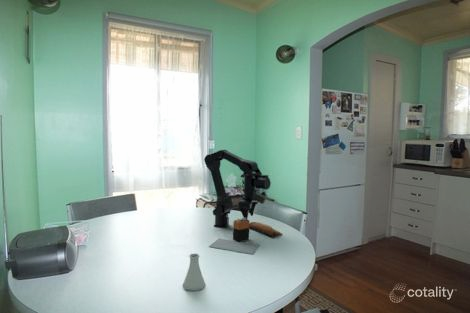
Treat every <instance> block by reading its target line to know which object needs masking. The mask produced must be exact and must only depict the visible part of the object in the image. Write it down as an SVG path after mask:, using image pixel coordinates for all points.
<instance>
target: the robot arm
mask: <svg viewBox="0 0 470 313" xmlns="http://www.w3.org/2000/svg"><path fill="white" fill-rule="evenodd" d="M223 160H225V161H227V162H229V163H231V164H233V165H234V166H237V167H238V168H239V169H240V171H242V174H241V175H240V178H243V188H242V192H243V197H242V198H241V199H240V200H239V201H238V202H237V208H238V209H239V211H240V213H241V215H242V218H244V217H245V218H246V219H247V220H249V219H248V218H249V215H250V217H251V216H254V212H255V210H256V209H255V208H256V206H257V205H258V204H259V203H260V204H262V205H263V204H264V203H265V202H266V200H267V198H268V195H267V193H266V192H265V191H262V192H258V189H261V190H269V189H270V187H271V184H272V182H271V179H270V178H269V175H268V174H262V171H261V170H260V168H259V166H258V163H257V162H256V161H254V160H250V159H244V158H242V157H240V156H238V155H236V154H235V153H233V152H230V151H229V150H227V149H219V150H217V151H216V152H213V153H210V154H206V155H205V157H204V161H203V162H204V163H205V165H206V168H207V169H208V170H209V171H210V174H211V178H212V182H213V186H214V190H215V193H216V197H217V198H216V201H215V204H216V205H215V206H216V207H215V208H214V209H213V210H212V214H213V216H214V225H213V227H217V228H224V229H225V228H226V227H228V226H229V225H230V222H229V221H230V217H229V215H230V214H231V211H233V210H232V209H233V208H234V206H233V205H234V202H233V201H232V197H231V196H228V195H227V193H226V189H225V185H224V182H223V178H222V174H221V170H220V168H221V162H222V161H223Z"/></svg>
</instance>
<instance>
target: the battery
mask: <svg viewBox="0 0 470 313" xmlns="http://www.w3.org/2000/svg"><path fill="white" fill-rule="evenodd" d="M250 221H251V220H249V219H246V218H245V217H241V218H237V219H235V220H233V224H232V225H233V226H232V229H233V230H232V231H233V232H232V240H233V241H237V242H246V241H249V239H250V228H249V225H250V223H251V222H250Z"/></svg>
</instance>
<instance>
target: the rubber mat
mask: <svg viewBox="0 0 470 313" xmlns="http://www.w3.org/2000/svg"><path fill="white" fill-rule="evenodd" d="M260 247H261V244H258V243H251V242H246V241H241V242H237V241H235V240H233V239H227V238H221V237H220V238H219V237H218V238H217V239H216V240H215V241H214V242H212V243H211V244H210V245H209V246H208V248H211V249H212V248H213V249H218V250H224V251H229V252H230V251H231V252H236V253H242V254H248V255H251V256H252V255H254V254H255V253H256V251H257V250H258V249H259V248H260Z"/></svg>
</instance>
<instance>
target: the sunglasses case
mask: <svg viewBox="0 0 470 313" xmlns="http://www.w3.org/2000/svg"><path fill="white" fill-rule="evenodd" d="M249 229H250V230H254V231H258V232H260V233H263V234H264V235H266V236H270V237H272V238H277V237H282V236H283V233H282V232H281V231H279V230H277V229H275V228H273V227H272V226H271V225H268V224H264V223H262V222H259V221H258V222H257V221H251V222H250V225H249Z"/></svg>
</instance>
